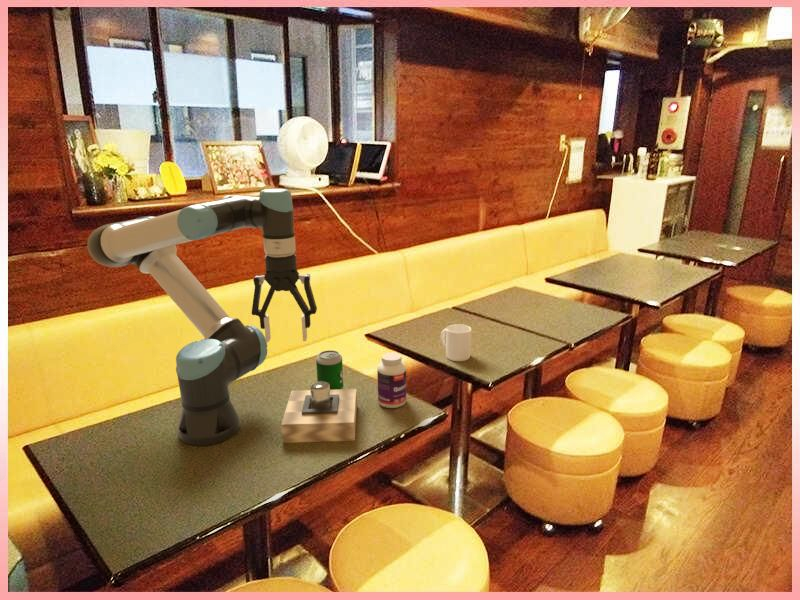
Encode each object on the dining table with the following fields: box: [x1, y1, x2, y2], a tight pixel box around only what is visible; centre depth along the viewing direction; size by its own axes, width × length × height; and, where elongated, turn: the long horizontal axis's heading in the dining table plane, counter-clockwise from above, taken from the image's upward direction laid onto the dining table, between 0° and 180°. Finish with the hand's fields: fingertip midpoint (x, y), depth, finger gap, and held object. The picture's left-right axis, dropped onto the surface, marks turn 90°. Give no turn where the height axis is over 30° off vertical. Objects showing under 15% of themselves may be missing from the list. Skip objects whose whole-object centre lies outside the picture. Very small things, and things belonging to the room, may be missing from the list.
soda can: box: [315, 349, 344, 390], centre depth 165 cm, size 8×8×12 cm
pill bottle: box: [376, 352, 407, 409], centre depth 157 cm, size 8×8×14 cm
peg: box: [309, 381, 331, 409], centre depth 147 cm, size 5×5×6 cm
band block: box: [280, 388, 358, 444], centre depth 148 cm, size 18×18×6 cm
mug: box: [440, 323, 472, 362], centre depth 189 cm, size 12×8×10 cm
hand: (286, 339), depth 144 cm, fingers open, 9 cm apart
